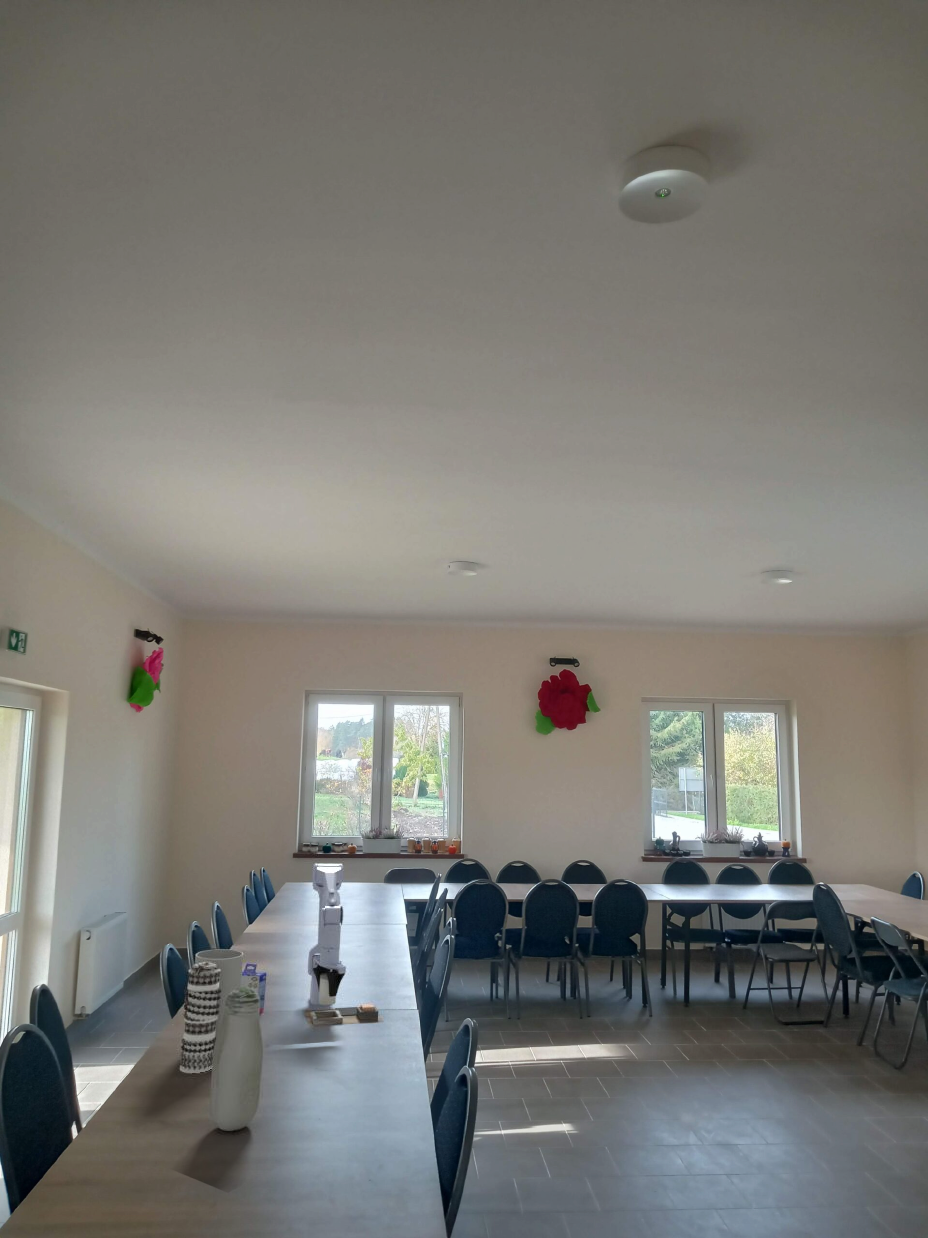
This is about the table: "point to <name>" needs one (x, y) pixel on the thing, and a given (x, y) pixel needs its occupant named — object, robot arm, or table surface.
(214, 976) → the decorative candle
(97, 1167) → the table surface
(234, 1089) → the glass bottle
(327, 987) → the cylinder
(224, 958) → the cylinder vase
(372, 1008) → the peach square block
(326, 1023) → the base board
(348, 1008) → the rubber mat
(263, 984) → the ink cartridge box
